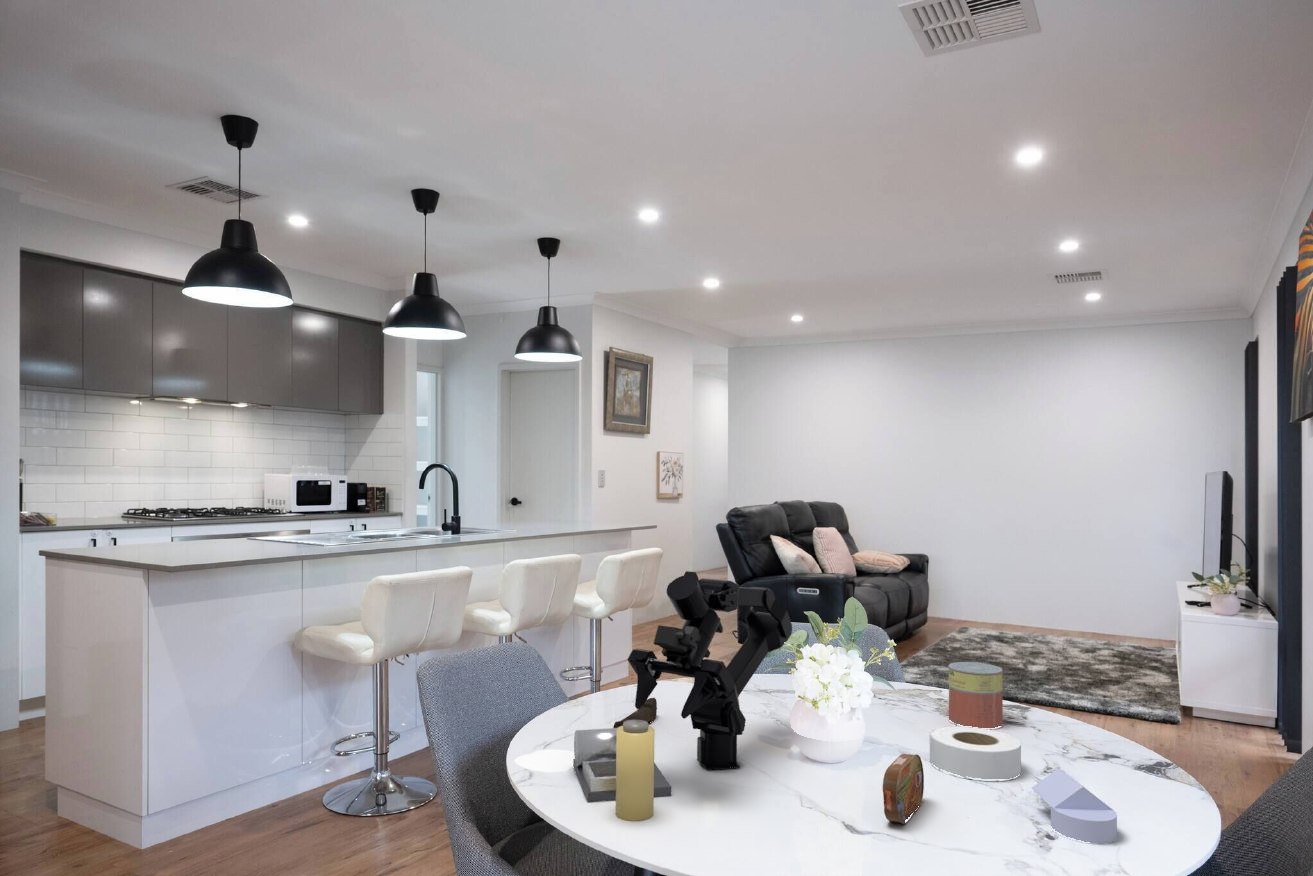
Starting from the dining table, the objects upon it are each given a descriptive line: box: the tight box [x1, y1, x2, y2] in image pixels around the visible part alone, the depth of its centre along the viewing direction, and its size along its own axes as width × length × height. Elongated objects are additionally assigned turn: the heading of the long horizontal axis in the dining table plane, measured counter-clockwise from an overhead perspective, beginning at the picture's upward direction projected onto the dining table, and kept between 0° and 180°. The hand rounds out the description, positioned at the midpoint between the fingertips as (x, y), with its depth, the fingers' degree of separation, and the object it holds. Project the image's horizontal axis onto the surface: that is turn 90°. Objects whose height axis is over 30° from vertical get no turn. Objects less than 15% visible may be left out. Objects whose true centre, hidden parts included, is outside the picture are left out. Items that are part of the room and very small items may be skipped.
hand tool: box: [612, 697, 658, 728], centre depth 180 cm, size 19×4×5 cm, turn 156°
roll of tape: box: [929, 726, 1022, 779], centre depth 158 cm, size 16×16×6 cm
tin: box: [882, 753, 925, 825], centre depth 136 cm, size 15×3×8 cm, turn 148°
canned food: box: [947, 661, 1004, 728], centre depth 187 cm, size 11×11×12 cm
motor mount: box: [572, 727, 672, 803], centre depth 148 cm, size 14×17×8 cm
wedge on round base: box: [1030, 767, 1118, 845], centre depth 132 cm, size 9×7×13 cm
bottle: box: [615, 720, 656, 822], centre depth 134 cm, size 6×6×14 cm
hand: (659, 712), depth 142 cm, fingers open, 9 cm apart
